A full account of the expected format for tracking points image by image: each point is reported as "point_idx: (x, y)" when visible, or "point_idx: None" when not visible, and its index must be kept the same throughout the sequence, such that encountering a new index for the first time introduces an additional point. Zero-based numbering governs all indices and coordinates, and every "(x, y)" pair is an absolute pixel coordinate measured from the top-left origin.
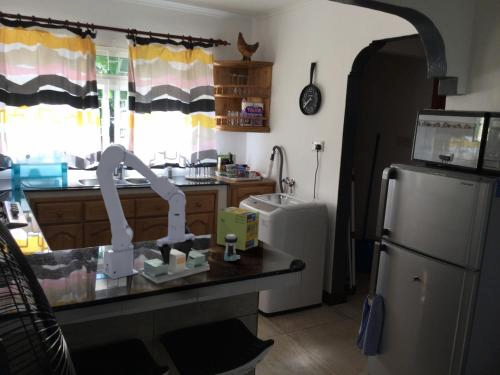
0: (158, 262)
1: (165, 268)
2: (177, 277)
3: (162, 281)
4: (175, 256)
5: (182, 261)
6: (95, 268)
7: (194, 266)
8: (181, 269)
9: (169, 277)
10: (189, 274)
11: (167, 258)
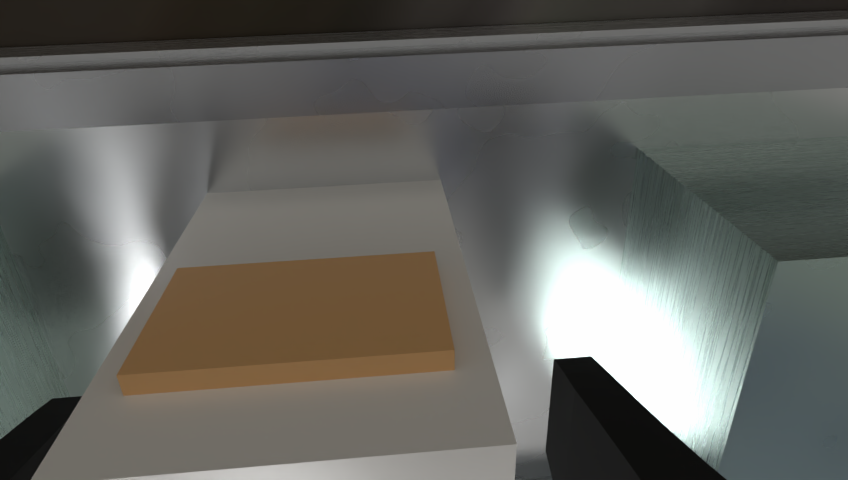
0: (841, 445)
1: (788, 205)
2: (488, 27)
3: (824, 14)
4: (511, 454)
5: (259, 288)
6: None
7: None
8: (301, 203)
9: (693, 28)
10: (184, 40)
11: (713, 471)
